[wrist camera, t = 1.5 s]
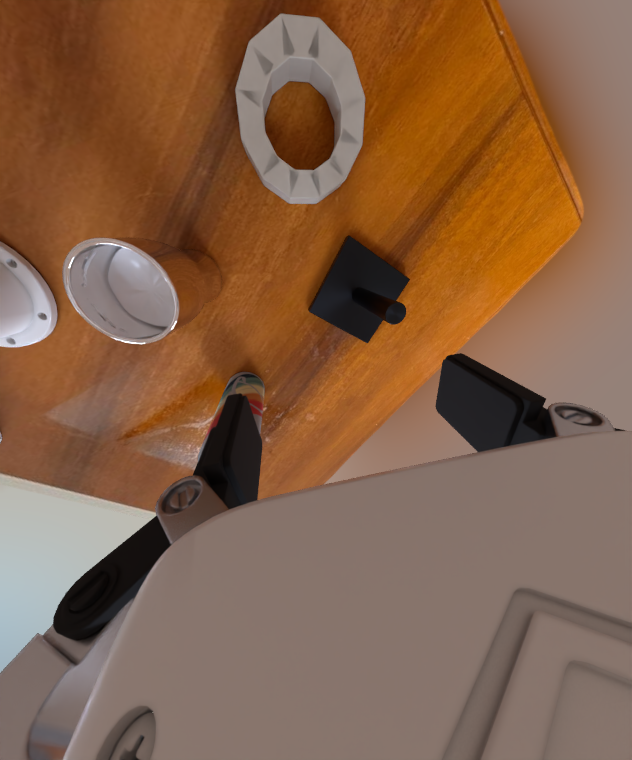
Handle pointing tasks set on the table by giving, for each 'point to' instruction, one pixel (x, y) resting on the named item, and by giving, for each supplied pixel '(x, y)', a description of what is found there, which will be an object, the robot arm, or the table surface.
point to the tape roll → (326, 74)
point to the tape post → (360, 292)
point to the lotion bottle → (246, 386)
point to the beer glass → (138, 286)
